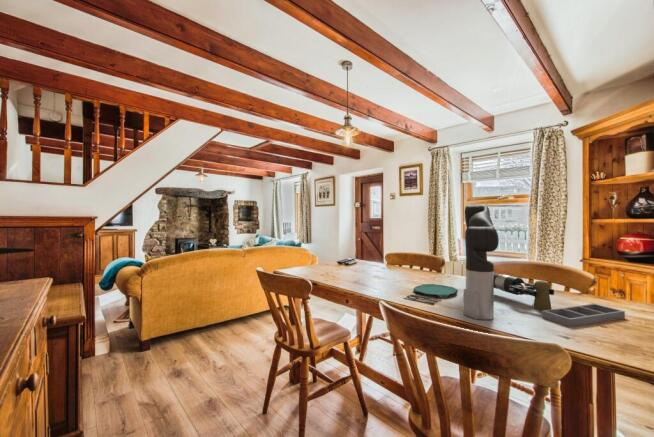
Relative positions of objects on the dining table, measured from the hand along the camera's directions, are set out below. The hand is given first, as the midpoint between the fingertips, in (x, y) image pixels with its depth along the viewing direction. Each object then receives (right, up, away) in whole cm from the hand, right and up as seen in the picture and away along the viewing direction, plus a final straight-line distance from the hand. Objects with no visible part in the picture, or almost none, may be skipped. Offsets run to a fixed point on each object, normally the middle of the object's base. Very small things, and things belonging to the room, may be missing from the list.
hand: (545, 293), depth 116 cm
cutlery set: (-37, -7, +23) cm, 44 cm away
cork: (0, -7, +1) cm, 7 cm away
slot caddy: (+7, -7, -9) cm, 13 cm away
